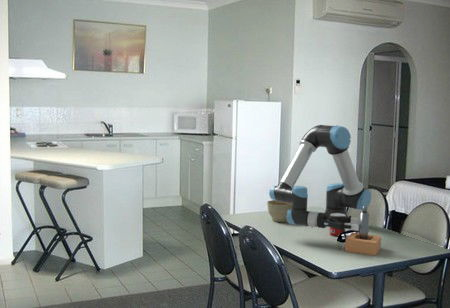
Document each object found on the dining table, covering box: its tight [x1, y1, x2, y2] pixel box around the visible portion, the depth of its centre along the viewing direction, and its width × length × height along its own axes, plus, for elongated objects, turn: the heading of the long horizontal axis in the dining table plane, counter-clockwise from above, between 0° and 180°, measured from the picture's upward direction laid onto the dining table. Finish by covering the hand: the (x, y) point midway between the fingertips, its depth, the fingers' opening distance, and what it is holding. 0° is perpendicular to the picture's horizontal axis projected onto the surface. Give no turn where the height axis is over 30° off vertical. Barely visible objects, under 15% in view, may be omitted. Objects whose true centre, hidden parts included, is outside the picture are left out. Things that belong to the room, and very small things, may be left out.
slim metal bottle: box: [358, 206, 370, 240], centre depth 258 cm, size 4×4×21 cm
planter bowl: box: [266, 199, 292, 223], centre depth 317 cm, size 16×16×11 cm
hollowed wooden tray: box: [344, 232, 382, 256], centre depth 258 cm, size 14×14×6 cm
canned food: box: [329, 213, 346, 237], centre depth 286 cm, size 8×8×11 cm
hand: (361, 224), depth 258 cm, fingers open, 13 cm apart
